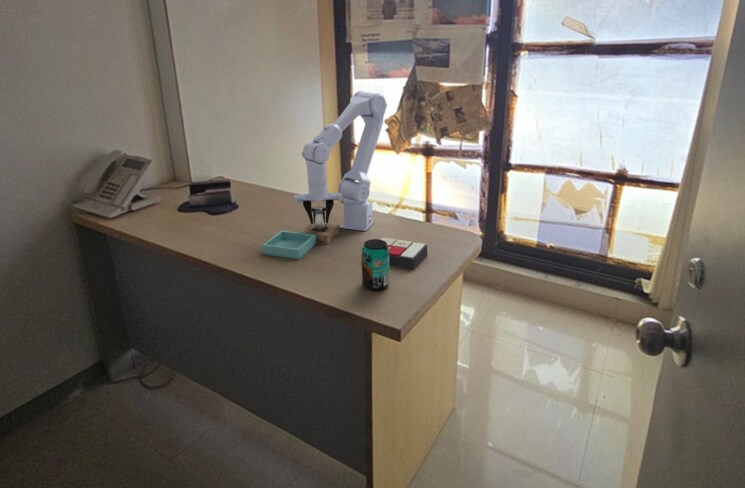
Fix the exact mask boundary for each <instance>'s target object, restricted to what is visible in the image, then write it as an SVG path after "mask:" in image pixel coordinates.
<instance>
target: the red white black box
mask: <svg viewBox="0 0 745 488" xmlns="http://www.w3.org/2000/svg"><path fill="white" fill-rule="evenodd" d="M379 240H383V241H385V242H386V243H387V247H388V248H389V266H395V267H399V268H402V269H408V270H412V271H414V270H415V269H417V267H418V266H419V265H420V264H421V263H422V262H423V261H424V260H425V259H426V258H427V257H428V244H426V243H421V242H419V243H418V242H413V241H410V240H403V239H396V238H388V237H381V238H380V239H379Z"/></svg>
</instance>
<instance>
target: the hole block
mask: <svg viewBox="0 0 745 488" xmlns="http://www.w3.org/2000/svg"><path fill="white" fill-rule="evenodd" d="M325 229H326V230H325V231H324V232H319V231H314V221H313V224H311V223H310V224H308V226H306V227H305V228H304V229H303V230H301V231H300V233H306V234H314V235H316V242H317V244H322V245H329V244H330V242H332V241H333V240H334V239H335V238H336V237H337V236H338V234H339V225H338V224H332V223H331V224H330V223H325Z"/></svg>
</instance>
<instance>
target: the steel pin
mask: <svg viewBox="0 0 745 488" xmlns="http://www.w3.org/2000/svg"><path fill="white" fill-rule="evenodd" d="M312 217H313V222H314V231H319V232H324V231H325V230H326V229H325V224H326V206H322V205H319V206H318V205H317V206H313V207H312Z"/></svg>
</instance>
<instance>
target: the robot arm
mask: <svg viewBox="0 0 745 488" xmlns="http://www.w3.org/2000/svg"><path fill="white" fill-rule="evenodd" d="M349 100H350V101H349V103H348V105H347V106H346V107H345V109H344V110H343V112H342V113H341V114H340V115H339V116H338V117H337V118H336V120H335V122H334V123H328V124H325V125H324V126H323V129H322V130H321V131H320V132H319V133H318V134H317V136H315V137H314V138H313V140H312V141H308V142H307V143H306V144H305V145H304V146H303V149H302V150H303V151H301V155H302V158H303V159H304V160H305V165H306V173H307V175H306V176H307V186H308V187H307V190H308V191H307V192H308V193H304V194H303V193H302V194H295V195H294V204H299V203H302V206H303V208H304V210H305V212H306V213H307V216H308V218H309V222H310V224H313V222H314V217H313V212H312V208H313V207H312V202H325V208H326V211H325V224H329V219H330V215H331V211H332V210H333V207H334V202H335V201H338V202H342V204H343V205H342V207H343V223H342V224H340V225H339V229H346V230H355V231H362V232H363V231H364V232H366V231H368V229H369V228H370V227H371V226H372V225H373V224H374V223H373V204H372V202H371V201H367V200H368V198H369V197H370V189H371V188H370V187H371V183H372V182H371V180H370V178H369V177H368V172H369V169H370V166H371V164H372V163H371V162H372V159H373V157H374V154H375V149H376V147H377V144H378V140H379V137H380V134H381V132H382V128H383V124H384V116H385V114H386V110H387V106H388V103H387V100H386V98H385V96H384V94H382V93H380V92H379V93H378V92H377V93H375V92H367V91H363V90H359V91H356V92H355V93H354V95H353V96H351V97H350V99H349ZM359 116H360V117H361V119H362V120H363V122H364V127H363V130H362V133H361V135H360V136H361V138H360V140H359V143H358V146H357V150H356V153H355V155H354V158H353V159H354V160H353V162H352V165H351V169H350V170H349V171H347V172H345V173H344V175H343V178H342V179H341V181H340V182H339V184H338V187H337V191H338V192H328V186H327V184H328V182H327V163H326V162H327V161H328V160H329V158H330V154H331V152H332V149H333V148H334V147H335V146H336V145H337V143H339V141H340V140H341V139H342V138H343V131H345V129H346V128H348V127H349V125H351V123H353V122H354V121H355V120H356V119H357V118H358V117H359Z"/></svg>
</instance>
